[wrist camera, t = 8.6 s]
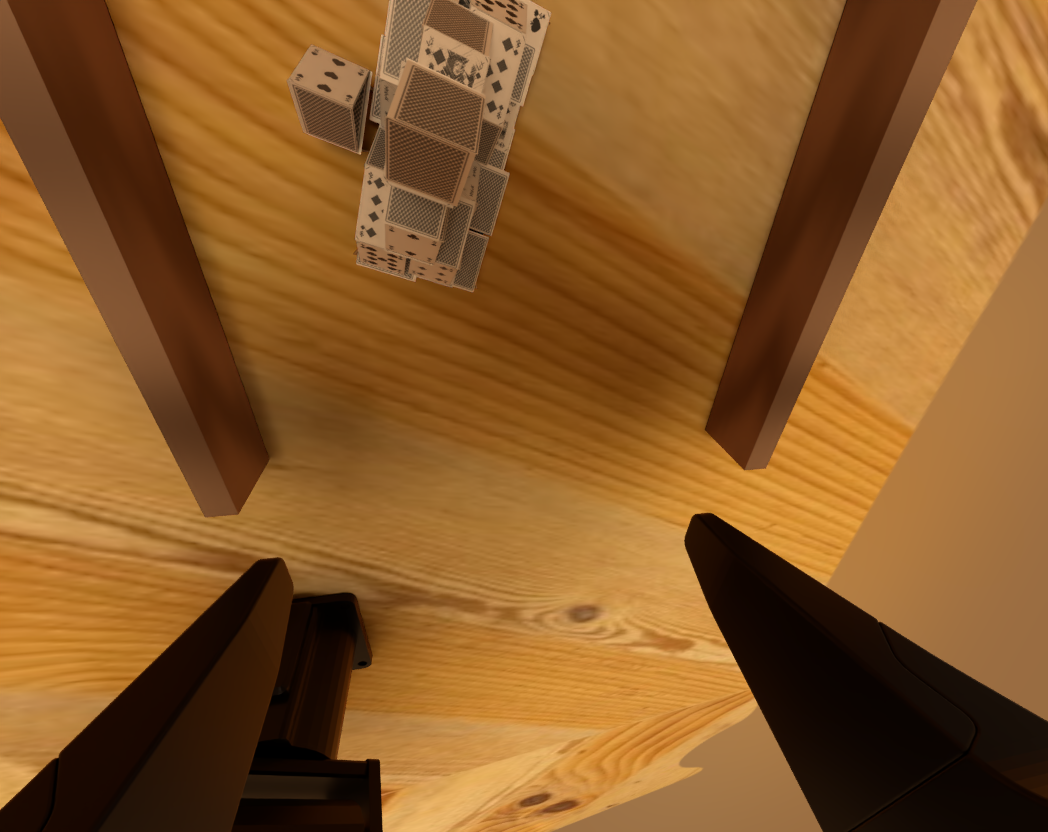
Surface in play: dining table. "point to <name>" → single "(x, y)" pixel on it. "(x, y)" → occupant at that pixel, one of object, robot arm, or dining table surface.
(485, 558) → the dining table surface
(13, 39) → the wooden arch
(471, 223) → the house of cards
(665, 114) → the dining table surface
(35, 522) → the dining table surface
